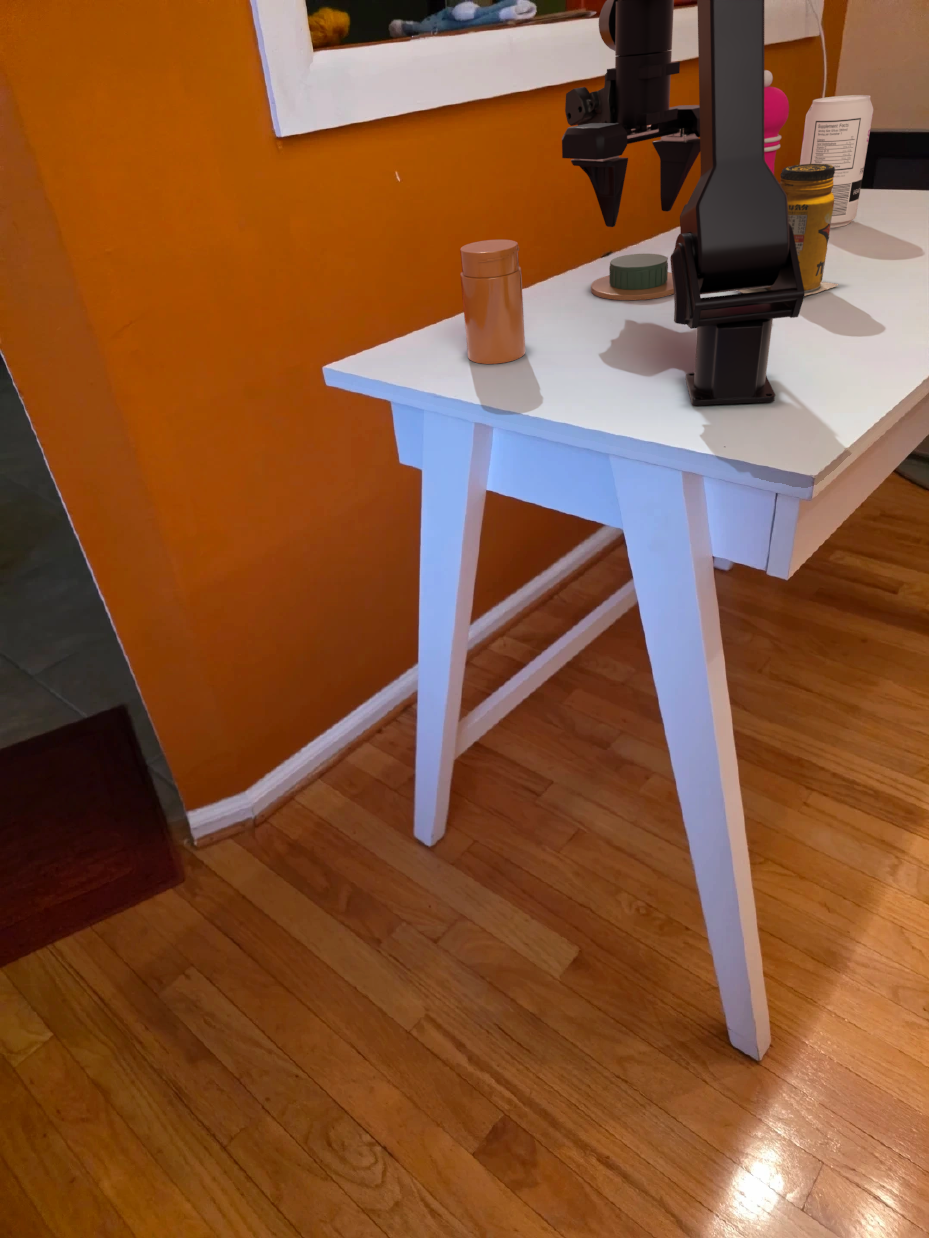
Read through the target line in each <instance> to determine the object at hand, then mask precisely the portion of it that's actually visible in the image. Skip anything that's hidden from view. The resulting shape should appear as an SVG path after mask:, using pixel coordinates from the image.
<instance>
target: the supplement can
mask: <svg viewBox="0 0 929 1238" xmlns="http://www.w3.org/2000/svg"><path fill="white" fill-rule="evenodd" d="M873 116H874V106H873V103H872V100H871V95H869V94H868V95H866V94H852V95H836V96H829V97H828V96H827V97H822V98H821V97H820V98H815V99H813V100H812V103H811V105H810V107H809V109H808V111H807V112H806V114H805V120H804V121H805V122H804V129H803V136H802V145H801V153H800V160H799V161H800V162H799V165H801V164H828V165H832V166H833V167H835V174H834V178H833V184H834V185H833V188H832V191H831V192H832V193H833V195H834V207H833V213H832V219H831V226H830V229H833V228H840V227H844V226H845V227H846V226H847V225H849V224H851V222H852V221H854V219H856V217H857V213H858V206H859V200H860V194H861V189H862V182H863V176H864V170H865V164H866V158H867V152H868V147H869V146H868V145H869V140H870V133H871V127H872V121H873Z"/></svg>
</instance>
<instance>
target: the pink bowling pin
mask: <svg viewBox="0 0 929 1238" xmlns="http://www.w3.org/2000/svg"><path fill="white" fill-rule="evenodd" d="M773 80H774V77H773V73H772V72H771V71H770V70H767V69H764V155H765V162H766V163H767V165H768V166H769V168H770V170H771V171H772V173H773V174H774V175H775V160H776V156H777V155H776V154H777V150H780V148H781V142H780V140H781V139H782V135H781V134H779V132H780V131H781V129H782V128H783V126H785V124H786V122H787V120H788V118H789V114H790V113H789V112H790V104H789V103H790V102H789V99H788V97H787V95H786V94H785V92H783V90H782V89H780V88H778V87H775V86H771V84H773Z"/></svg>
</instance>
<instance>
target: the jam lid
mask: <svg viewBox="0 0 929 1238" xmlns="http://www.w3.org/2000/svg"><path fill="white" fill-rule="evenodd" d="M668 260H669V259H668V257H667V256H665V255H663V254H659V253H632V254H625V255H621V256H617V257H615V258H612V259H611V260H610V261H609V269H608V270H609V274H608V275H609V284H610V285H611V286H612V287H614V288H617V289H623V290H642V289H650V288H654V287H658V286H661V285H663V284H665V283H666V281H667V275H668V272H669V261H668Z"/></svg>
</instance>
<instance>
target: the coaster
mask: <svg viewBox="0 0 929 1238" xmlns="http://www.w3.org/2000/svg"><path fill="white" fill-rule="evenodd" d="M590 292H591V293H592V294H593V295H594V296H596V297H598V298H603V299H606V300H613V301H614V300H615V301H642V300H643V301H644V300H645V301H646V300H652V299H659V298H664V297H668V296H671V295H674V288H673V279H672V272H669V271H668V275H667V281H666V283H665V284H663V285H661V286H658V287H654V288H650V289H642V290H623V289H617V288H614V287H612V286H611V285H610V284H609V274H608V275H604V276H602V277H599V278H597V279H595V280H594V281H593V282H592V283H591V284H590Z"/></svg>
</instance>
